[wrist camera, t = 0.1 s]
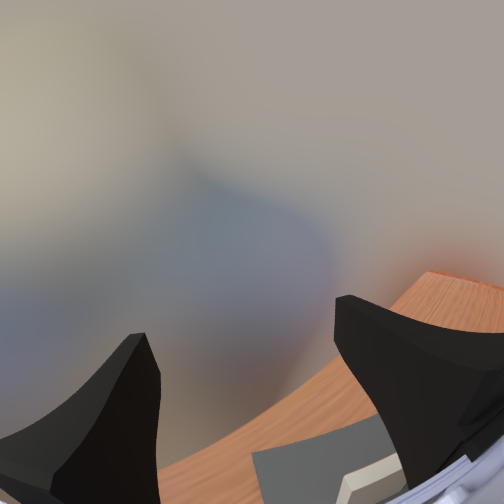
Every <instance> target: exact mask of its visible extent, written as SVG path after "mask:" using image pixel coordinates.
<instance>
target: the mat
mask: <svg viewBox="0 0 504 504" xmlns="http://www.w3.org/2000/svg"><path fill="white" fill-rule="evenodd" d="M394 453H396V450H395V447H394V445H393V442H392V440H391V438H390V436H389V434H388V431H387V429H386V427H385V425H384V423H383V421H382V419H381V417H380V415H379V414H376V415H374V416H372V417H369V418H367V419H364V420H362V421H359V422H357V423H354V424H352V425H349V426H346V427H344V428H341V429H338V430H335V431H332V432H329V433H326V434H323V435H320V436H317V437H314V438H310V439H307V440H303V441H300V442H296V443H293V444H289V445H285V446H281V447H277V448H272V449H268V450H263V451H259V452H254V453H252V457H253V461H254V465H255V470H256V474H257V478H258V482H259V486H260V490H261V493H262V497H263V501H264V504H336V502H337V498H338V495H339V492H340V488H341V485H342V481H343V477H344V476H345V475H346V474H348V473H351V472H353V471H356V470H358V469H361V468H363V467H366V466H368V465H370V464H372V463H375V462H377V461H379V460H381V459H383V458H385V457H388V456H390V455H392V454H394ZM408 491H410V490H409V489H408V485H407V482H406V484H405V485H404V487H403V488H402V490H401V491H400V492H398V493H396V494H394V495H392V496H390V497H388V498H386V499H384V500H382V501H380V502H377V503H375V504H385V503H387V502H389V501H391V500H393V499H395V498H397V497H399V496H401V495H403V494H405V493H407V492H408ZM438 496H439V495H438ZM438 496H437V497H435V498H434V499H432V500H431V501H429V502H427V503H426V504H433V503H434V502H436V501H437V498H438Z"/></svg>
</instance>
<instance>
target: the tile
mask: <svg viewBox="0 0 504 504" xmlns="http://www.w3.org/2000/svg"><path fill="white" fill-rule="evenodd" d="M406 482H407V481H406V478H405V475H404V472H403V469H402V466H401V463H400V460H399V458H398V455H397V452H396V453H394V454H392V455H390V456H388V457H385V458H383V459H381V460H379V461H377V462H375V463H372V464H370V465H368V466H366V467H363V468H361V469H358V470H356V471H353V472H351V473H348V474H346V475H345V476H344V477H343V481H342V485H341V488H340V492H339V495H338V498H337V502H336V504H375V503H377V502H380V501H382V500H384V499H386V498H388V497H390V496H392V495H394V494H396V493H398V492H400V491H401V490H402V488H403V487H404V485H405V484H406Z"/></svg>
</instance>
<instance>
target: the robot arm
mask: <svg viewBox="0 0 504 504" xmlns="http://www.w3.org/2000/svg"><path fill="white" fill-rule="evenodd" d="M334 342H335V344H336V346H337V348H338V350H339V352H340V354H341V356H342V358H343V360H344V361H345V363H346V364H347V366H348V367H349V369H350V370H351V372H352V373H353V375H354V376H355V377H356V379H357V380H358V382H359V383H360V385H361V386H362V387H363V389H364V390H365V392H366V393H367V395H368V396H369V398H370V399H371V401H372V402H373V404H374V406H375V407H376V409H377V411H378V413H379V415H380V417H381V419H382V421H383V423H384V425H385V427H386V429H387V431H388V434H389V436H390V438H391V440H392V442H393V445H394V447H395V450H396V452H397V455H398V458H399V460H400V463H401V466H402V469H403V472H404V475H405V478H406V481H407V485H408V489H409V490H410V491H408V492H407V493H405V494H403V495H401V496H399V497H397V498H395V499H393V500H391V501H389V502H387V503H385V504H426V503H427V502H429V501H431V500H432V499H434V498H435V497H437V496H438V495H439V496H438V498H437V501H436V502H434V503H433V504H504V333H476V332H466V331H459V330H453V329H447V328H442V327H438V326H434V325H430V324H427V323H423V322H420V321H417V320H414V319H411V318H408V317H405V316H403V315H400V314H397V313H395V312H392V311H390V310H387V309H385V308H382V307H380V306H378V305H375V304H373V303H371V302H368V301H366V300H363V299H361V298H358V297H356V296H353V295H346V296H342V297H338V298H336V305H335V327H334ZM160 400H161V373H160V370H159V368H158V366H157V363H156V361H155V358H154V356H153V353H152V351H151V348H150V345H149V343H148V340H147V337H146V335H145V333H137V334H130V335H129V336H128V337H127V338H126V339H125V340H124V341H123V342H122V343H121V344H120V345H119V347H118V348H117V349H116V350H115V351H114V352H113V354H112V355H111V356H110V357H109V358H108V359H107V360H106V362H105V363H104V364H103V365H102V366H101V367H100V368H99V369H98V371H96V373H95V374H94V375H93V376H92V377H91V378H90V379H89V380H88V381H87V382H86V383H85V384H84V385H83V386H82V387H81V388H80V389H79V390H78V391H77V392H76V393H75V394H73V395H72V396H71V397H70V398H69V399H68V400H66V401H65V402H64V403H63V404H61V405H60V406H59V407H57V408H56V409H55V410H53V411H52V412H50V413H49V414H48V415H46V416H45V417H43V418H42V419H40V420H39V421H37V422H35V423H34V424H32V425H30V426H28V427H26V428H25V429H23V430H21V431H19V432H17V433H14V434H12V435H10V436H7V437H5V438H2V439H0V488H1V489H2V490H4V491H5V492H6V493H7V494H9V495H10V496H12V497H13V498H14V499H16V500H17V501H18V502H20V503H21V504H161V503H160V496H159V488H158V479H157V467H156V439H157V428H158V418H159V409H160ZM0 504H7V503H5V502H3V501H1V500H0Z"/></svg>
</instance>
